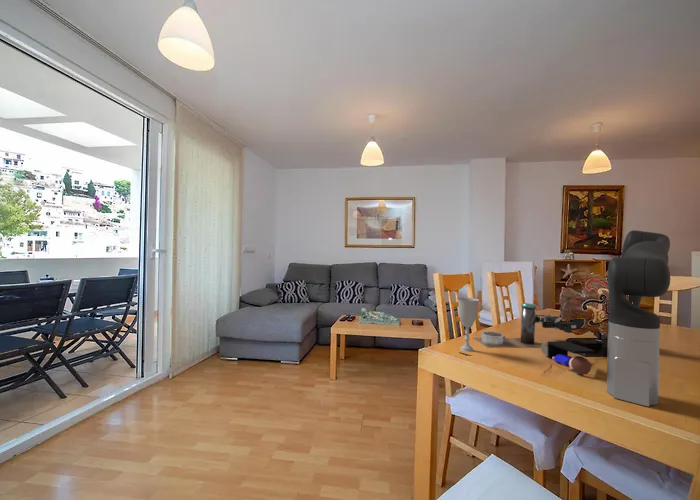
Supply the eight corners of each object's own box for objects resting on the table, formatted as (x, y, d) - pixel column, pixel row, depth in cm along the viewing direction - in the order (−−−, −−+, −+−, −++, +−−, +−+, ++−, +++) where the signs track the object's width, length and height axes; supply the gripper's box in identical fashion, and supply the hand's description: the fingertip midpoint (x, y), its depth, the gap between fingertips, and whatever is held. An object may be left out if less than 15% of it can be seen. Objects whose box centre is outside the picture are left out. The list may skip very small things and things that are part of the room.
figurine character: (539, 363, 101) (575, 376, 86) (538, 338, 102) (573, 347, 87) (559, 363, 101) (599, 377, 86) (558, 339, 102) (597, 348, 87)
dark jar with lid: (533, 345, 112) (534, 306, 112) (518, 342, 115) (519, 304, 115) (536, 342, 115) (537, 304, 115) (522, 339, 118) (523, 302, 118)
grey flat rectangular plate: (527, 341, 121) (527, 338, 121) (549, 351, 109) (549, 347, 109) (471, 340, 120) (471, 337, 120) (487, 350, 108) (487, 347, 108)
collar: (500, 346, 109) (500, 338, 109) (478, 342, 114) (478, 333, 114) (507, 342, 114) (507, 334, 114) (485, 338, 120) (486, 330, 120)
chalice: (451, 350, 107) (452, 297, 107) (468, 349, 109) (469, 297, 109) (465, 357, 100) (466, 301, 100) (482, 355, 102) (484, 300, 102)
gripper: (563, 308, 123) (523, 308, 122) (593, 316, 109) (548, 315, 108) (563, 327, 123) (523, 327, 122) (593, 338, 109) (548, 337, 108)
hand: (535, 321), depth 115 cm, fingers open, 8 cm apart
